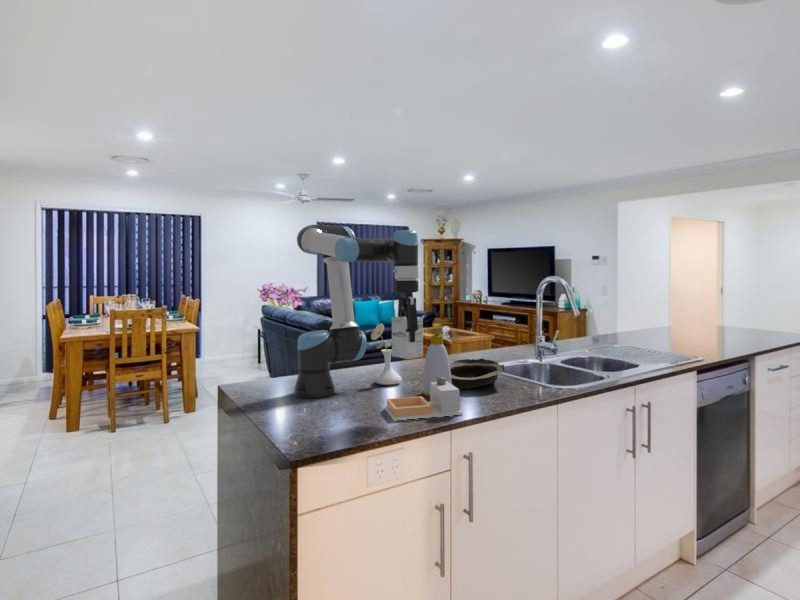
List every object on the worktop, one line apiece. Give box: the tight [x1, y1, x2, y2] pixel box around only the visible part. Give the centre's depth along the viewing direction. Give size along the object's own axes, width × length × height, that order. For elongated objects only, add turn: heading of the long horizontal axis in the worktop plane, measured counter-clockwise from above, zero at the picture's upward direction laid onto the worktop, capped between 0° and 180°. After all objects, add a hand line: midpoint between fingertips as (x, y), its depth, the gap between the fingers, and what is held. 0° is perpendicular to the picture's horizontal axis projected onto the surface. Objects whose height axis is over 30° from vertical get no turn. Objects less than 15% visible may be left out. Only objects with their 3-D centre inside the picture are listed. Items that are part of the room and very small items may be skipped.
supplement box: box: [391, 316, 424, 360], centre depth 151 cm, size 7×7×13 cm
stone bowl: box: [450, 357, 505, 390], centre depth 187 cm, size 25×25×9 cm
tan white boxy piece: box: [384, 377, 463, 422], centre depth 153 cm, size 22×14×10 cm, turn 103°
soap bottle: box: [422, 323, 453, 398], centre depth 175 cm, size 11×12×26 cm
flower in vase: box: [370, 323, 403, 386], centre depth 192 cm, size 13×11×25 cm
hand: (407, 349), depth 151 cm, fingers closed on supplement box, 10 cm apart
